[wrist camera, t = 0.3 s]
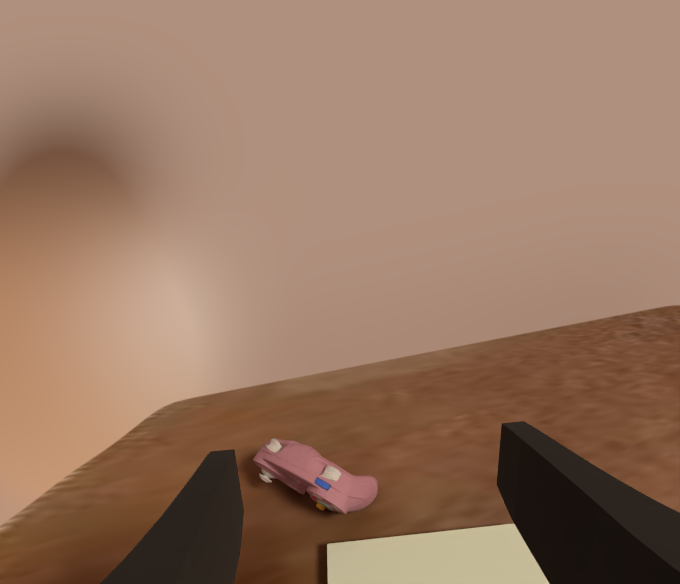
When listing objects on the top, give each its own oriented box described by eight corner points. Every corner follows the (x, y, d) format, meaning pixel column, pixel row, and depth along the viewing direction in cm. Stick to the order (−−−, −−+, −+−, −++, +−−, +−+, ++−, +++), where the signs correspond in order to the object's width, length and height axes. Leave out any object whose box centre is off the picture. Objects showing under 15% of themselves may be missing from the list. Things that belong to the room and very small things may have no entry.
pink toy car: (272, 490, 39) (233, 460, 34) (298, 445, 41) (264, 411, 36) (362, 542, 33) (330, 514, 29) (386, 487, 35) (360, 452, 31)
